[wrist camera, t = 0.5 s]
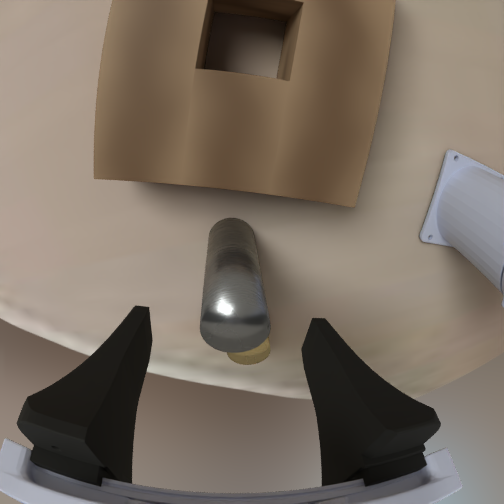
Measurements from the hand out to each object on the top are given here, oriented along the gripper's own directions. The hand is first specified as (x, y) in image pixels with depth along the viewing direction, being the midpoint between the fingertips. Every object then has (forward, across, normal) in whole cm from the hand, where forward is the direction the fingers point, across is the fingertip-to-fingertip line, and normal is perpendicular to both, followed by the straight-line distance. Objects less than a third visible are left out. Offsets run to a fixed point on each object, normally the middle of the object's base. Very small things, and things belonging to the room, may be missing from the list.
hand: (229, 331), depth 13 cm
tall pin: (+9, 0, 0) cm, 9 cm away
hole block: (+9, 0, -13) cm, 16 cm away
